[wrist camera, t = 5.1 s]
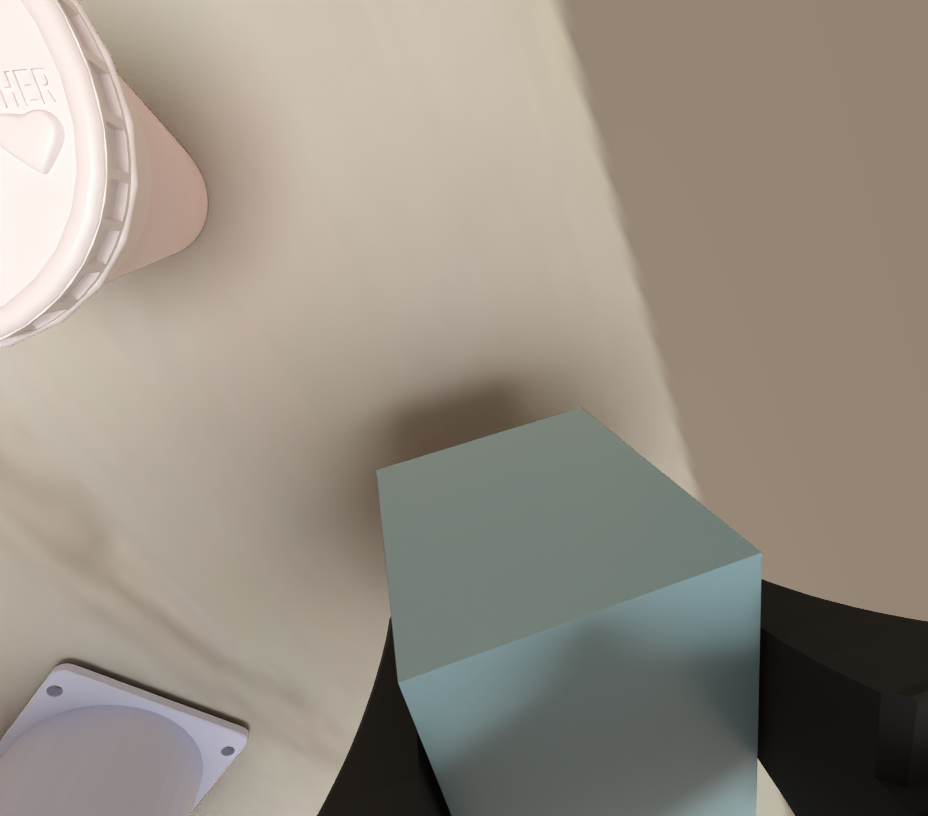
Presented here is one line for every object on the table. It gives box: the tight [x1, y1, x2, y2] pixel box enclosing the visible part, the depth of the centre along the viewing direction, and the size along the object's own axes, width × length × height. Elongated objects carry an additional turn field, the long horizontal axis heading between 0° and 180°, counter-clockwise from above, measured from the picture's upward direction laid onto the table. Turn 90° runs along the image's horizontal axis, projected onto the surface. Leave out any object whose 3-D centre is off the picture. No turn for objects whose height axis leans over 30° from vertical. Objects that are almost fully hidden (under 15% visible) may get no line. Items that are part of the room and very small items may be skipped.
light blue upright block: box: [376, 408, 762, 816], centre depth 12 cm, size 9×6×7 cm
